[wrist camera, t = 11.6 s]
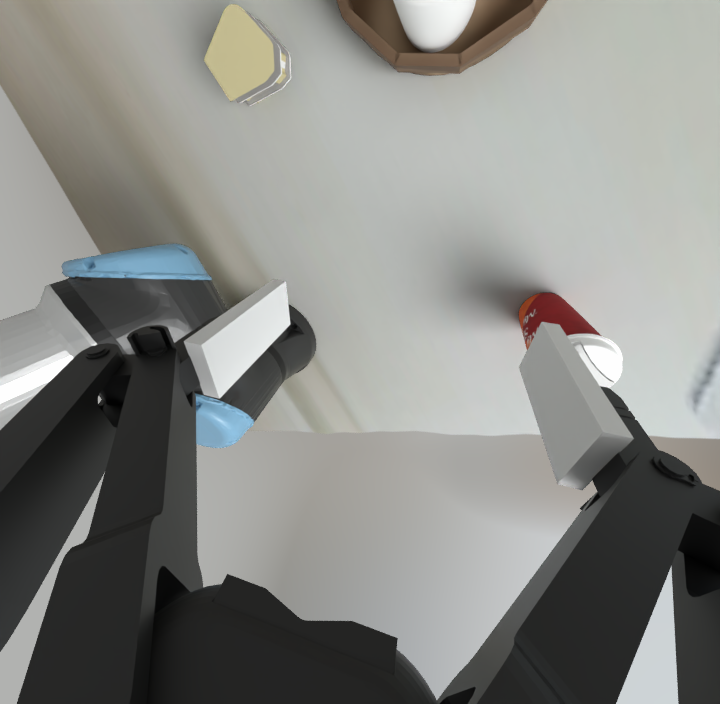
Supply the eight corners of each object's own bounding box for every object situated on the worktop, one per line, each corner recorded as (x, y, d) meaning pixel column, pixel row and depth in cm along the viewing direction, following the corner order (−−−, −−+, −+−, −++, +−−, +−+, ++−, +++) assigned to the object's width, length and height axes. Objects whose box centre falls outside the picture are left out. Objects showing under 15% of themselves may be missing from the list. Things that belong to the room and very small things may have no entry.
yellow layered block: (266, 141, 36) (240, 139, 31) (215, 62, 32) (179, 47, 28) (323, 78, 31) (303, 65, 26) (271, -23, 28) (237, -57, 23)
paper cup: (501, 300, 39) (522, 357, 28) (566, 274, 35) (619, 328, 24) (520, 343, 42) (546, 411, 30) (582, 323, 38) (636, 393, 27)
